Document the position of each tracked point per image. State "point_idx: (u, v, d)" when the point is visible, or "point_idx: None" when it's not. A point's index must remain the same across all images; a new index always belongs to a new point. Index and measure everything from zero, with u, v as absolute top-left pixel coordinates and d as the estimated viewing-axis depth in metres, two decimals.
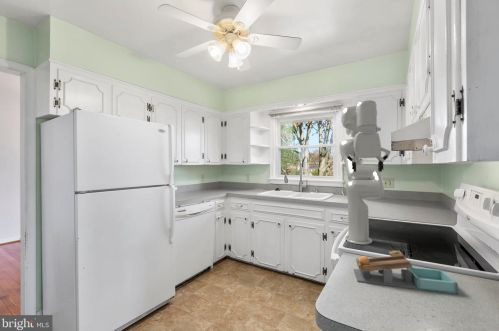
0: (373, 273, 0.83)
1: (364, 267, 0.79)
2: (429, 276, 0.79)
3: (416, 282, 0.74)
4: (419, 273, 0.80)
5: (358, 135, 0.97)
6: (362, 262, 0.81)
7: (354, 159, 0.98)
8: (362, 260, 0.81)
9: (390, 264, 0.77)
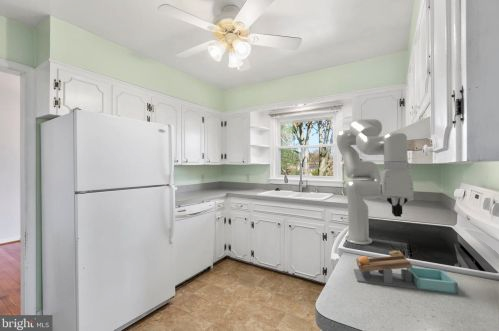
0: (373, 273, 0.83)
1: (364, 267, 0.79)
2: (429, 276, 0.79)
3: (416, 282, 0.74)
4: (419, 273, 0.80)
5: (387, 172, 0.86)
6: (362, 262, 0.81)
7: (393, 201, 0.85)
8: (362, 260, 0.81)
9: (390, 264, 0.77)
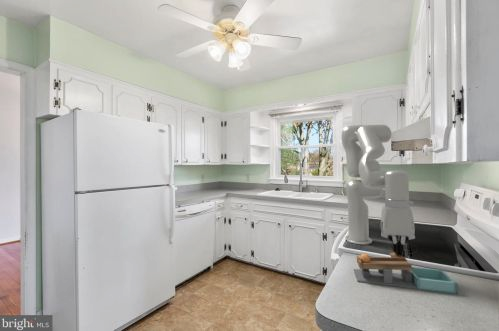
0: (373, 273, 0.83)
1: (364, 265, 0.79)
2: (429, 276, 0.79)
3: (416, 282, 0.74)
4: (419, 273, 0.80)
5: (388, 210, 0.85)
6: (363, 260, 0.81)
7: (394, 240, 0.85)
8: (363, 257, 0.81)
9: (391, 264, 0.77)
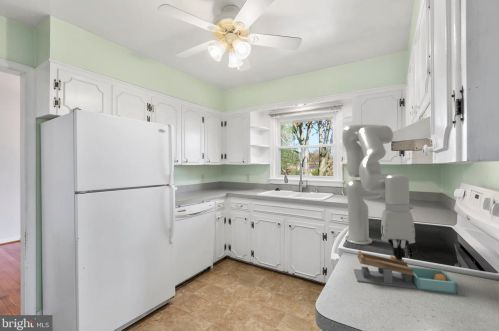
0: (373, 273, 0.83)
1: (366, 260, 0.79)
2: (429, 276, 0.79)
3: (416, 282, 0.74)
4: (419, 273, 0.80)
5: (388, 214, 0.85)
6: (441, 278, 0.74)
7: (395, 244, 0.85)
8: (444, 278, 0.74)
9: (393, 266, 0.77)
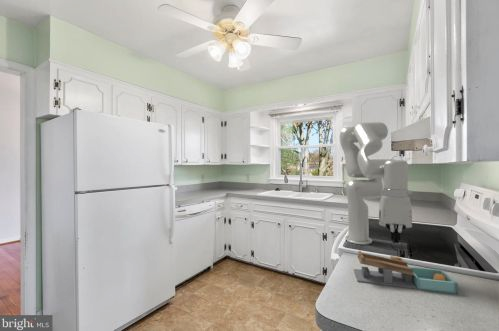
0: (373, 273, 0.83)
1: (366, 260, 0.79)
2: (429, 276, 0.79)
3: (416, 282, 0.74)
4: (419, 273, 0.80)
5: (386, 199, 0.86)
6: (440, 278, 0.74)
7: (392, 228, 0.86)
8: (443, 277, 0.74)
9: (393, 266, 0.77)
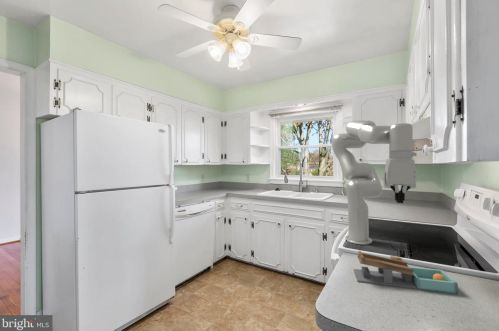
0: (373, 273, 0.83)
1: (366, 260, 0.79)
2: (429, 276, 0.79)
3: (416, 282, 0.74)
4: (419, 273, 0.80)
5: (391, 161, 0.90)
6: (439, 278, 0.74)
7: (396, 189, 0.90)
8: (442, 277, 0.74)
9: (393, 266, 0.77)
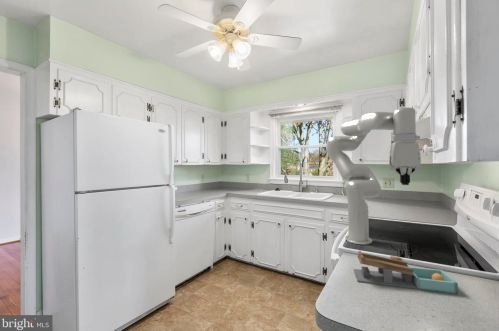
0: (373, 273, 0.83)
1: (366, 260, 0.79)
2: (429, 276, 0.79)
3: (416, 282, 0.74)
4: (419, 273, 0.80)
5: (396, 144, 0.93)
6: (438, 278, 0.74)
7: (402, 171, 0.93)
8: (440, 277, 0.74)
9: (393, 266, 0.77)
